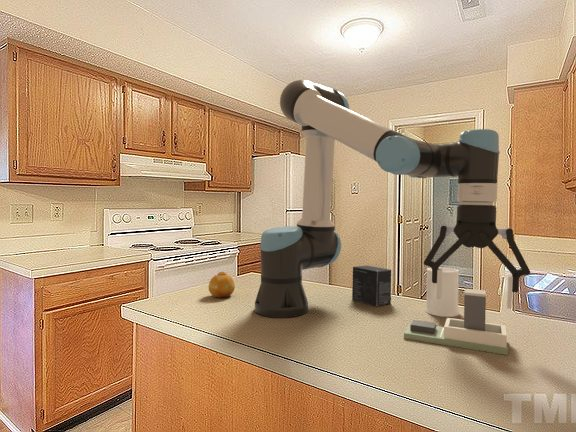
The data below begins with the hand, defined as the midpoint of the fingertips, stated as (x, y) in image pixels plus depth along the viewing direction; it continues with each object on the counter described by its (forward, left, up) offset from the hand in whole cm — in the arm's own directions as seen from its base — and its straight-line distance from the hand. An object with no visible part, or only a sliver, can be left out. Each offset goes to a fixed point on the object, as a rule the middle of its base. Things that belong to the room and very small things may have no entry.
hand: (472, 302), depth 80 cm
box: (-29, +23, -9) cm, 38 cm away
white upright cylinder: (-9, +19, -9) cm, 23 cm away
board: (-4, 0, -9) cm, 9 cm away
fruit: (-74, +7, -9) cm, 74 cm away
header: (0, 0, -7) cm, 8 cm away
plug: (0, 0, -7) cm, 8 cm away
